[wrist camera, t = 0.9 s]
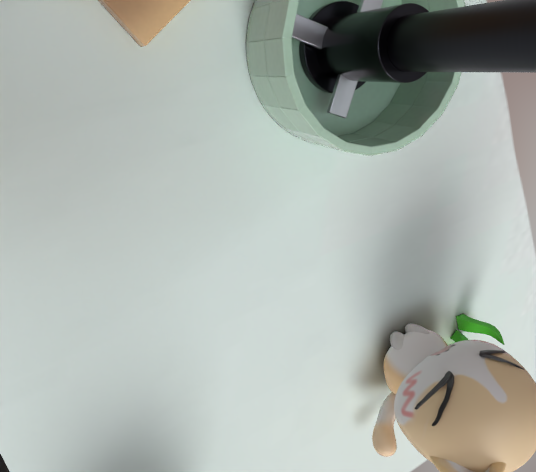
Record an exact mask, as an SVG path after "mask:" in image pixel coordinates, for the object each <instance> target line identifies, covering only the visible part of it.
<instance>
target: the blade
mask: <svg viewBox="0 0 536 472" xmlns="http://www.w3.org/2000/svg"><path fill="white" fill-rule="evenodd" d="M382 2H383V0H361V1H360V5H357V4H355V3H352V2H348V1H338V2H333V3H329V4H326V5H324V6H322V7H320V8H319V9H317V10H316V11H315V12H314V13H313V14H312V15H311V16H310V18H309V19H308V18H305V17H303V16H301V15H298V14H296V18H295V23H294V28H293V34H292V38H293V39H296V40H298V41H300V44H299V55H300V61H301V65H302V68H303V70H304V73H305V75H306V76H307V78H308V79H309V80H310V82H311V83H312V84H313V85H314V86H316V87H317V88H318V89H320V90H322V91H324V92H327V93H332V96H331V100H330V103H329V106H328V109H327V113H330V114H333V115H336V116H339V117H342V118H346V117H347V114H348V111H349V108H350V104H351V101H352V98H353V95H354V92H355V90H356V89H358V88H359V87H361V86H362V85H363V84H364V83H365V82H394V83H409V82H413V81H416V80H418V79H420V78H421V77H422V76H424V75H425V74H426V73H427V72H536V0H503V1H497V2H491V3H484V4H477V5H471V6H464V7H458V8H451V9H445V10H438V11H432V12H429V11H428V10H427V9H426V8H424V7H423V6H421V5H418V4H415V3H406V4H401V5H395V6H390V7H385V8H381V6H382Z"/></svg>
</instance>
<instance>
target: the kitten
mask: <svg viewBox="0 0 536 472" xmlns="http://www.w3.org/2000/svg"><path fill="white" fill-rule="evenodd" d="M456 319H457V324H458V329H459V330H463V331H467V332H473V333H482V334H487V335H490V336H492V337H493V338H495V339H496V340H498V341H499V342H500V343H502V344H504V342H503V339H502V336H501V334H500V332H499V331H498V329H497V328H496V327H495V326H493V325H491V324H489V323H485V322H482V321H479V320H475V319H472V318H470V317H468V316H466V315H464V314H461V315H459V316H456ZM405 332H406V334H402V333H401V332H398V331H395V332H393V333H392V334H391V336H390V342H391V347H390V349H389V350H388V352H387V354H386V356H385V358H384V374H385V379H386V383H387V385H388V387H389V389H390V390H391V391H392V392H391V393H390V394H389V395H388V396H387V398H386V399H385V400H384V402H383V404H382V406H381V408H380V411H379V414H378V418H377V421H376V424H375V427H374V430H373V436H372V439H373V446H374V448H375V450H376V451H377V453H378V454H380V455H382V456H385V457H388V456H392V455H393V454H394V453H395V451H396V447H397V445H396V439H395V435H394V429H393V425H394V421H395V419H396V420H397V422H398V424H399V426H400V428H401V430H402V432H403V433H404V435H405V436H406V437H407V439H408V440H409V441H410V442H411V444H412V445H413V446H414V447H415V448H416V449H417V450H418V451H419V452H420V453H421V454H422V455H423V456H424V457H425V458H426V459H428V460H429V461H431V462H432V463H433V464H434V465H435V466H436V468H437V469H438V470H439V471H440V472H513V471H515V470H517V469H518V468H519V467H521V466H522V465H523V464H525V463H526V462H527V461H528V460H529V459H530V458H531V457H532V455H533V454H534V453H535V451H536V383H535V382H534V380H533V379H532V377H531V376H530V374H529V373H528V372H527V371H526V370H525V369H524V367H523V366H522V365H521V364H520V363H519V362H518V361H517V360H515V359H514V358H513V357H512V356H511V355H509V354H508V353H507V352H505V351H504V350H503V349H501V348H499V347H498V346H496V345H494V344H491V343H488V342H485V341H480V340H468V339H467V338H466V337H465V336H464V335H463V334H461V333H460V332H459V331H458V330H456V331H455V333H454V334H453V335H452V336H451V337H450V338H451V339H452V340H454V341H455V343H453V344H451V345H447V344H446V342H445V341H444V339H443V338H442V337H441V336H440V335H438V334H437V333H435V332H434V331H431V330H427V329H425V328H424V327H422V326H419V325H417V324H407V325H406V326H405Z"/></svg>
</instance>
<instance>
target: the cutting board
mask: <svg viewBox="0 0 536 472" xmlns="http://www.w3.org/2000/svg"><path fill="white" fill-rule="evenodd" d="M98 1H99V2H100V3H101V4H102V5H103V6H104V7H105V9H106V10H107V11H108V12H109V13H110V14H111V15H112V16H113V17H114V18H115V19H116V20H117V22H118V23H119V24H120V25H121V26H122V27H123V28H124V29H125V30H126V31H127V32H128V33H129V35H130V36H131V37H132V38H133V39H134V40H135V41H136V42H137V43H138V44H139V45H140V46H141V47H142V46H146V45H147V44H148V43H149V42H150V41H151V40H152V39H153V38H154V37H155V36H156V35H157V34H158V33H159V32H160V31H161V30H162V29H163V28H164V27H165V26H166V25H167V24H168V23H169V22H170V21H171V20H172V19H173V18H174V17H175V16H176V15H177V14H178V13H179V12H180V11H181V10H182V9H183V8H184V7H185V6H186V4H187V3H188V2H189V1H190V0H98Z"/></svg>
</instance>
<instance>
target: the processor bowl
mask: <svg viewBox="0 0 536 472" xmlns="http://www.w3.org/2000/svg"><path fill="white" fill-rule="evenodd" d="M338 1H348V2H352V3H355V4H357V5H360V1H361V0H255V3H254V6H253V9H252V12H251V15H250V19H249V24H248V29H247V40H246V52H247V63H248V70H249V74H250V77H251V81H252V84H253V87H254V89H255V92H256V94H257V96H258V98H259V100H260V102H261V104H262V105H263V107H264V108H265V110H266V111H267V112H268V114H269V115H270V116H271V117H272V118H273V119H274V120H275V122H276V123H277V124H278V125H280V126H281V127H282V128H284V129H285V130H286V131H288V132H289V133H291V134H293V135H295V136H296V137H299V138H301V139H303V140H304V141H307V142H311V143H315V144H318V145H322V146H326V147H330V148H333V149H337V150H341V151H345V152H351V153H356V154H362V155H368V156H373V155H378V154H383V153H388V152H392V151H397V150H399V149H401V148H402V147H404V146H406V145H408V144H409V143H411V142H413V141H414V140H416V139H418V138H419V137H421V136H423V135H424V134H425V132H426V131H427V130H428V129H429V128H430V127H431V126H432V125H433V124H434V123H435V122H436V121H437V119H438V118H439V117H440V116H441V115H442V114H443V112H444V110H445V109H446V107H447V105H448V103H449V101H450V99H451V97H452V96H453V94H454V92H455V90H456V88H457V86H458V83H459V80H460V76H461V72H427V73H426V74H425V75H424V76H422V77H421V78H420V79H418V80H416V81H413V82H409V83H394V82H365V83H364V84H363V85H362V86H361V87H359V88H358V89H356V90H355V92H354V95H353V98H352V101H351V104H350V108H349V111H348V114H347V117H346V118H342V117H339V116H336V115H333V114H330V113H327V109H328V106H329V103H330V100H331V96H332V93H327V92H324V91H322V90H320V89H318V88H317V87H316V86H314V85H313V84H312V83H311V82H310V80H309V79H308V78H307V76H306V75H305V73H304V70H303V68H302V65H301V61H300V55H299V44H300V41H298V40H296V39H293V38H292V34H293V28H294V23H295V18H296V14H298V15H301V16H303V17H305V18H308V19H309V18H310V16H311V15H312V14H313V13H314V12H315V11H316V10H317V9H319V8H320V7H322V6H324V5H326V4H329V3H333V2H338ZM406 3H415V4H418V5H421V6H423V7H424V8H426V9H427V10H428V11H429V12H432V11H438V10H445V9H451V8H458V7H464V6H465V2H464V0H383V2H382V6H381V8H385V7H390V6H395V5H401V4H406Z"/></svg>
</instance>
